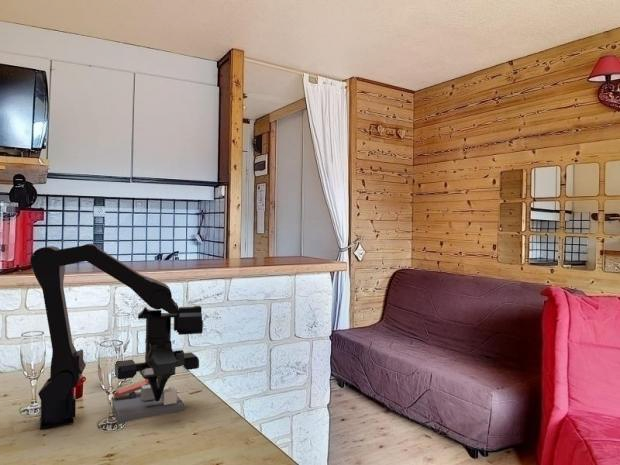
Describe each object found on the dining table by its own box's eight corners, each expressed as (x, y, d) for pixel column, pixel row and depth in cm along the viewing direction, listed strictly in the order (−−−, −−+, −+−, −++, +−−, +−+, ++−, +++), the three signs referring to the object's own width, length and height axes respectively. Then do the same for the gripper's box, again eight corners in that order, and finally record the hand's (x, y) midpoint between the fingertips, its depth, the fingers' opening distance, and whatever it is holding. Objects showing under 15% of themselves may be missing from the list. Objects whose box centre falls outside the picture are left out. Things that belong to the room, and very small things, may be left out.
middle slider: (142, 401, 113) (143, 388, 113) (140, 397, 115) (141, 385, 115) (155, 399, 114) (155, 386, 114) (153, 395, 116) (153, 384, 116)
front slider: (164, 405, 110) (164, 392, 110) (161, 401, 112) (161, 389, 112) (176, 403, 112) (176, 390, 112) (174, 399, 114) (174, 387, 114)
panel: (118, 422, 104) (118, 411, 104) (109, 402, 116) (109, 391, 116) (184, 410, 112) (184, 399, 112) (169, 392, 124) (170, 382, 124)
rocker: (115, 398, 113) (114, 393, 113) (113, 394, 115) (112, 389, 115) (152, 385, 117) (151, 380, 117) (149, 381, 120) (148, 377, 120)
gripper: (122, 348, 99) (121, 420, 99) (206, 338, 108) (205, 404, 109) (114, 337, 108) (113, 403, 108) (192, 329, 118) (191, 390, 118)
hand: (157, 400), depth 111 cm, fingers closed
